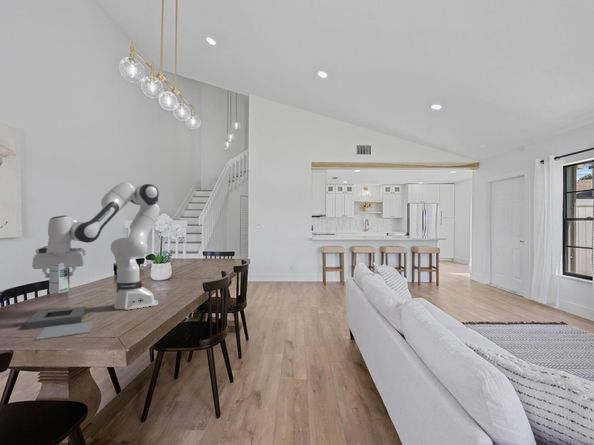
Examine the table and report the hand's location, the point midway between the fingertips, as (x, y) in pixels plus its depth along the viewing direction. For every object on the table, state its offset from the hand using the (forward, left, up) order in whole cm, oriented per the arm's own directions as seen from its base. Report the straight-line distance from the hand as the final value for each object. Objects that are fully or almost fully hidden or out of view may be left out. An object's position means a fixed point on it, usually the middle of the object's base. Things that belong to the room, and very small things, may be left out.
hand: (59, 276), depth 150 cm
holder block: (0, 0, -21) cm, 21 cm away
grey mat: (-6, +21, -21) cm, 30 cm away
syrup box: (0, 0, -8) cm, 8 cm away
